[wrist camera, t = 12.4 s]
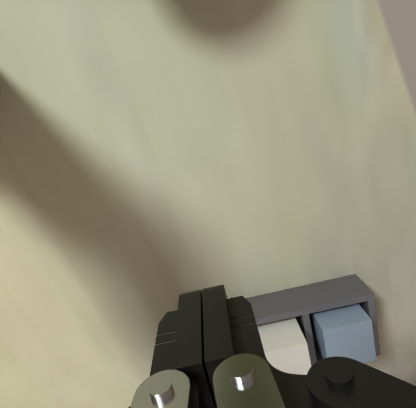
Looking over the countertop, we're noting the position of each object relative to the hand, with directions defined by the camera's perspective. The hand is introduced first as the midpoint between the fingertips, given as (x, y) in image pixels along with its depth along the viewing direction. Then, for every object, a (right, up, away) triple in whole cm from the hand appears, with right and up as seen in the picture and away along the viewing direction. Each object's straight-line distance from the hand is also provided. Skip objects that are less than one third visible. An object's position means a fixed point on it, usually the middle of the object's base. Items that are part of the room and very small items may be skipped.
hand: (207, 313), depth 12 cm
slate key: (+14, -10, +29) cm, 34 cm away
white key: (+8, -12, +28) cm, 31 cm away
